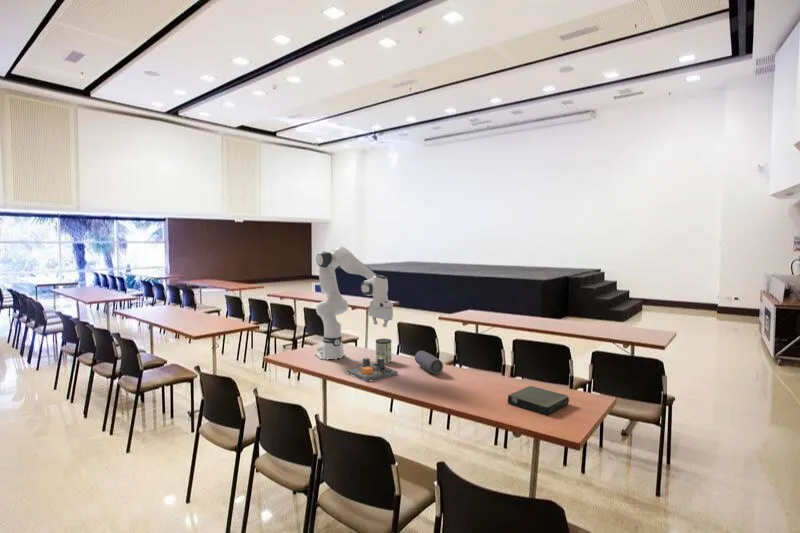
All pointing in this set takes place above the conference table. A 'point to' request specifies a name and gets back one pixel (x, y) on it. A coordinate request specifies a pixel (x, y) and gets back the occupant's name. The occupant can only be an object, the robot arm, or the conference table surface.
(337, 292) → the robot arm
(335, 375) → the conference table surface
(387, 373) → the panel
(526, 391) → the network switch
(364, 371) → the orange block
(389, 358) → the coffee can
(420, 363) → the bluetooth speaker
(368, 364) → the block
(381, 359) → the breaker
